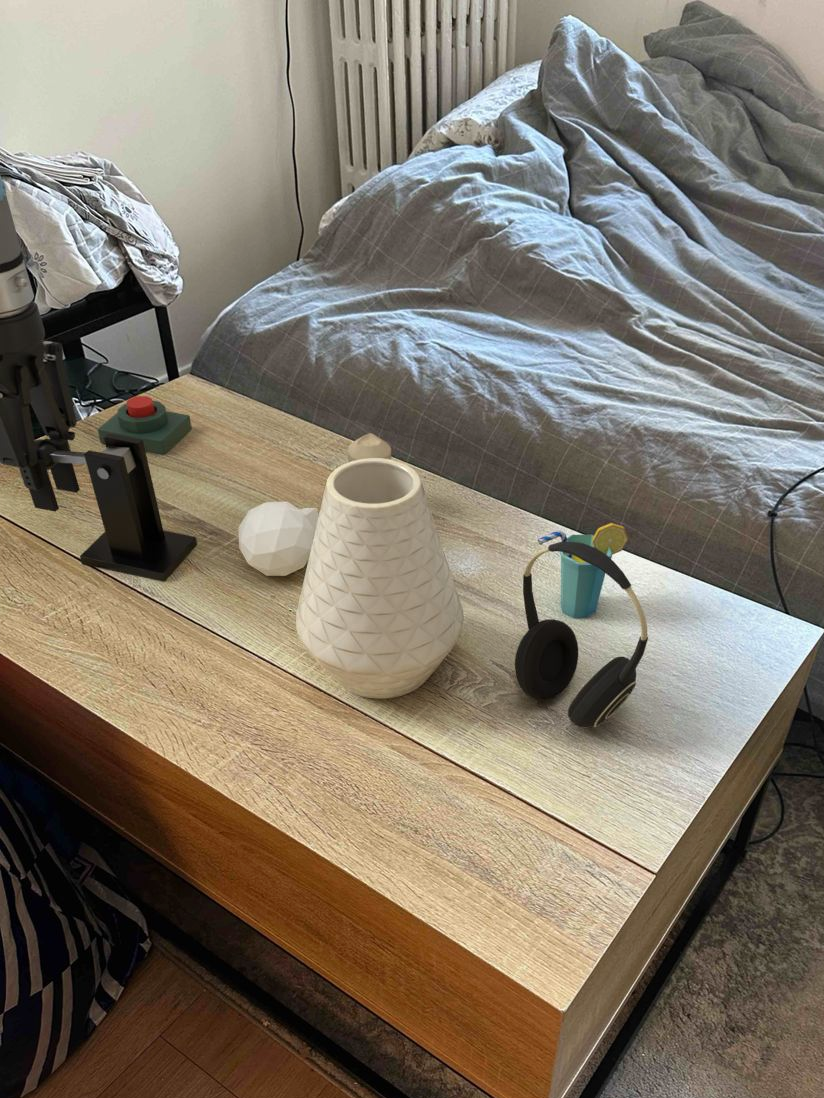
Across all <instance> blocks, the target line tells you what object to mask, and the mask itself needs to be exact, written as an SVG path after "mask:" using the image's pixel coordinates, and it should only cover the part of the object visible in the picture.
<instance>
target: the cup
mask: <svg viewBox="0 0 824 1098" xmlns="http://www.w3.org/2000/svg"><path fill="white" fill-rule="evenodd" d="M557 538H560V540H561V542H579V543H584V544H586V545H589V546H592V547H595V548H597V549H598V550H600V551H602V552H603V553H604V554H606V555H607V556H608V557H609V558H611V559H612V558H613V556H614V555H615V554H618V553H620V552H622V551H623V550H624V548H625V546H626V544H627V542H628V541H629V538H628V535H627V532H626V529H625V527H624V526H623V525H620V524H616V523H613V522H610V523H608V524H605V525H603V526H601V527H597V530H596V532H595V534H591V533H590V534H588V533H587V534H571V535H570V536H568V537H567V534H566V533H565V532H564V531H562V530H555V531H553V532H550V533H548V534H546V535H544V536H542V537H540V538H537V543H538V544H539V545H540V546H541V545H543V544H545V543H548V542H551V541H552V540H555V539H557ZM559 555H560V606H561V612H562V613H563V614H565V615H567V616H569V617H571V618H572V619H588V618H589V617H591V616H592V615H593V614H594V613H596V612H597V608H598V604H599V599H600V596H601V592H602V589H603V586H604V585H603V584H604V580H605V578H606V577H605V576H606V573H604V572H603V571H602V570H601V569H599V568H597V567H596V566H594V565H592V564H589V563H587V562H585V561H583V560H581V559H580V558H578V557H576V556H574V555H572V554H569V553H565V552H559Z"/></svg>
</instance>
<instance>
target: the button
mask: <svg viewBox="0 0 824 1098" xmlns="http://www.w3.org/2000/svg"><path fill="white" fill-rule="evenodd" d="M153 401H154V400H153V398H152V397H150V396H147V395H137V396H133V397H131V398H129V399H128V400H126V402H125V404H126V405H127V409H128V413H129V416H130V417H135V418H143V417H148V416H151V415H153V414H154V413H155V408H154V403H153Z"/></svg>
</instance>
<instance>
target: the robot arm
mask: <svg viewBox="0 0 824 1098" xmlns="http://www.w3.org/2000/svg"><path fill="white" fill-rule="evenodd" d="M24 259H25V258H24V254H23V252H22V247H21V244H20V240H19V236H18V232H17V228H16V226H15V222H14V219H13V214H12V211H11V208H10V204H9V200H8V196H7V189H6V184H5V182H4V181H3V178H2V176H1V175H0V464H1V465H3V466H7V467H8V466H9V467H12V468H13V467H14V468H18V469H19V472H20V477H21V478H22V481H23V485H24V487H26V489H28V491H29V494H30V497H31V500H32V503H33V505H34V508H35V509H38V510H43V511H44V510H45V511H49V512H55V513H56V512H57V511H58V510H59V509H60V506H59V504H58V499H57V497H56V494H55V491H54V487H53V485H52V481H51V478H50V475H49V472H48V471H49V470H48V471H47V468H46V465H45V462H44V460H41V459H38V458H37V452H36V446H35V440H36V439H35V435H34V429H33V424H32V418H31V413H30V407H29V405H31V408H32V410H33V412H34V414H35V417H36V418H37V421H38V423H39V425H40V427H41V429H42V431H43V433H44V435H45V436H46V438H44V440H47V441H50V442H51V443H53V444H54V445H55V446H56V448H57V450H61V451H72V450H71V447H70V442H69V441H71V442H72V441H74V440H75V439H76V433H75V431H71V430H70V429H71V428H75V427H76V426H77V417H76V414H75V408H74V404H73V399H72V397H71V391H70V388H69V384H68V380H67V376H66V371H65V367H64V348H63V345H62V343H60V342H56V341H48V340H44V339H45V337H46V331H45V327H44V324H43V320H42V317H41V314H40V310H39V307H38V304H37V303H36V301H34V299H35V294H34V291H33V288H32V284H31V281H30V277H29V274H28V271H27V268H26V264H25V260H24ZM47 437H49V438H47ZM50 473H51V476H52V479H53V483H54V485H55V489H56V490H59V491H63V492H70V493H75V494H77V493H78V492H80V490H81V488H80V485H79V482H78V478H77V475H76V471H75V467H74V464H72V463H59V462H58V463H57V465H56V466H55V467H54V468H53V469H51V470H50Z"/></svg>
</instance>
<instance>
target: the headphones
mask: <svg viewBox="0 0 824 1098" xmlns="http://www.w3.org/2000/svg"><path fill="white" fill-rule="evenodd" d="M548 552H551V553H553V552H559V553H560V552H565V553H569V554H572V555H574V556H576V557H578V558H580V559H581V560H583V561H585V562H587V563H589V564H592V565H594V566H596V567H597V568H599V569H601V570H602V571H603V572H604V573H605V575H607V576H609V578H611V579H612V580H613V581H614V582H615V583H616V584H617V585H618V586H619V587H620V588H621V589H622V590H624V591H625V592H626V594H627V596H628V597H629V598H630V601H631V602H632V604H633V606H634V609H635V611H636V613H637V616H638V619H639V623H640V630H641V631H640V632H641V634H640V636H639V638H638V641H637V643H636V647H635V649H634V651H633V654H632V655H631V657H630V659H629V658H628V657H625V656H616V657H614V658H613V659H612V660H610V661H608V662H607V663H606V664H605V665H604V666H602V667H601V668H600V669H599V670H598V671H597V672H596V673H595V674H594V675H593V676H592V677H591V678H590V679H589V680H588V681H587V682H586V683H585V685H584V686H583V687H582V688H581V689H580V690H579V691H578V693H577V694H576V696H575V697H574V698H573V700H572V701H571V703H570V705H569V706H568V709H567V717H568V718H569V721H570V722H571V723H572V724H573V725H574V726H576V727H578V728H583V729H584V728H585V729H586V728H592V727H594V728H596V727H599V726H600V725H602V724H603V723H604V722H606V721H607V720H608V719H609V718H610V717H612V716H613V715H614V714H615V713H616V712H617V711H618V710H619V709H620V708H621V706H622V705H623V704H624V703H626V701H627V700H628V698H629V697H630V695H631V694H632V692H633V690H634V689H635V687H636V685H637V668H638V666H639V664H640V662H641V660H642V658H643V657H644V654H645V650H646V647H647V644H648V640H649V637H648V623H647V618H646V616H645V612H644V608H643V606H642V604H641V602H640V600H639V598H638V597H637V594H636V593H635V592H634V589H633V588H632V583H631V582H630V581H629V579H628V577H627V575H626V574H625V572H624V571H623V570H622V569H621V568H620V567H619V566H618V565H617V563H616V562H615V561H614V560H612V558H609V557H608V556H607V555H606V554H604V553H603V552H602V551H600V550H598V549H597V548H595V547H592V546H589V545H586V544H584V543H579V542H562V541H558V542H555V543H552V544H549V545H548V546H547V547H545V548H542V549H541V550H538V551H537V552H536V553H535V554H534V555H533V556H532V557H530V559H529V561H528V563H527V565H526V567H525V570H524V574H523V575H522V594H523V595H522V596H523V602H524V603H523V604H524V612H525V618H526V623H527V628H528V630H527V631H526V633H524V635H523V637H522V638H521V639H520V641H519V642H518V645H517V647H516V651H515V653H514V654H515V655H514V673H515V677H516V681H517V685H518V686H519V688H520V690H521V691H522V692H523V694H524V695H526V696H527V697H529V698H530V699H534V700H537V701H541V702H542V701H543V702H544V701H550V700H554V699H555V698H557V697H559V696H560V695H561V694H562V693H563V692H565V690H566V689H567V688H568V687H569V685H570V684H571V682H572V680H573V678H574V677H575V673H576V670H577V667H578V663H579V644H578V639H577V637H576V634H575V632H574V630H573V629H572V627H570V626H569V625H568V624H567V623H565V622H564V621H561V620H559V619H554V618H549V619H548V618H547V619H543V620H540V619H539V615H538V611H537V610H538V609H537V607H536V602H535V597H534V592H533V591H534V590H533V579H532V578H533V577H532V575H533V574H532V573H531V572H532V568H533V566H534V564H535V562H536V561H537V560H538V558H539V557H541V556H542V555H544V554H546V553H548Z"/></svg>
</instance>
